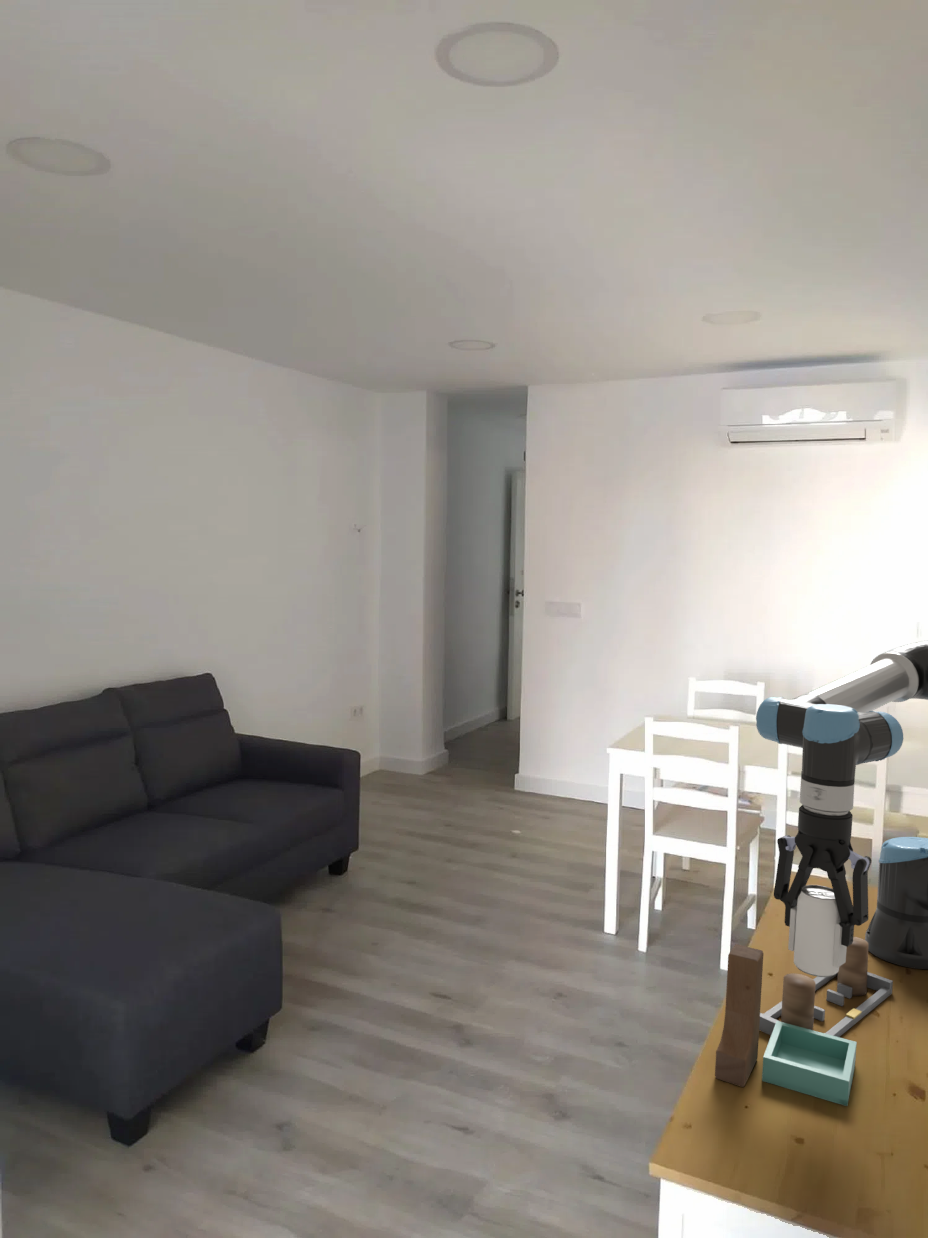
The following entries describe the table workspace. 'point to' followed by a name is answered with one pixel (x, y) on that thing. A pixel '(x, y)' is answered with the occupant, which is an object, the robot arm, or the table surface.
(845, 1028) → the grey flat open frame
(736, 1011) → the wooden block
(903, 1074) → the table surface
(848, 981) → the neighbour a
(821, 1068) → the tray
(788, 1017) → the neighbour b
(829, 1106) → the table surface
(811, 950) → the can
